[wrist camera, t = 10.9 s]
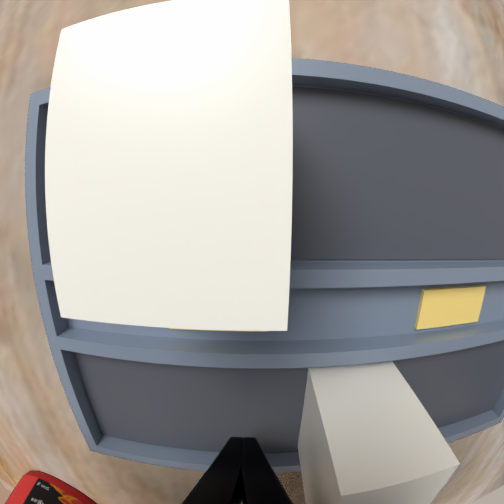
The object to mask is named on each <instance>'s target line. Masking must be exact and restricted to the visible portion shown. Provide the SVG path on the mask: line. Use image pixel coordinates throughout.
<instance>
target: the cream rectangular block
mask: <svg viewBox="0 0 504 504" xmlns="http://www.w3.org/2000/svg"><path fill="white" fill-rule="evenodd" d="M292 178H293V110H292V61H291V32H290V11H289V0H174V1H167V2H161V3H155V4H150V5H145V6H140V7H135V8H131V9H126V10H122V11H118V12H114V13H110V14H107V15H103V16H100V17H96V18H93V19H90V20H87V21H83V22H80V23H78V24H75V25H72V26H69V27H66V28H63V29H62V30H61V35H60V39H59V43H58V48H57V53H56V58H55V63H54V69H53V75H52V82H51V89H50V96H49V105H48V115H47V127H46V145H45V199H46V217H47V230H48V240H49V249H50V257H51V265H52V271H53V278H54V284H55V290H56V295H57V300H58V305H59V310H60V315H61V317H62V318H70V319H77V320H86V321H94V322H104V323H113V324H124V325H135V326H148V327H162V328H179V329H200V330H232V331H287V325H288V306H289V285H290V261H291V230H292Z"/></svg>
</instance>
